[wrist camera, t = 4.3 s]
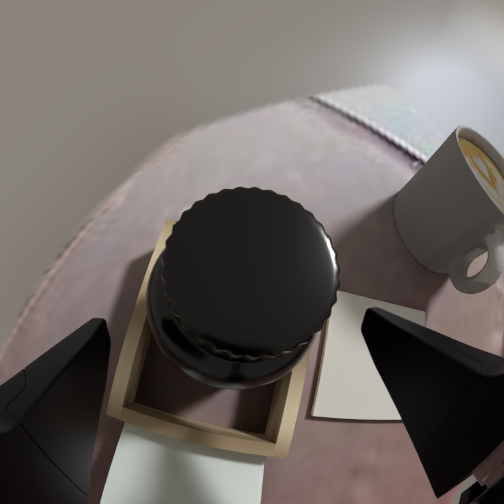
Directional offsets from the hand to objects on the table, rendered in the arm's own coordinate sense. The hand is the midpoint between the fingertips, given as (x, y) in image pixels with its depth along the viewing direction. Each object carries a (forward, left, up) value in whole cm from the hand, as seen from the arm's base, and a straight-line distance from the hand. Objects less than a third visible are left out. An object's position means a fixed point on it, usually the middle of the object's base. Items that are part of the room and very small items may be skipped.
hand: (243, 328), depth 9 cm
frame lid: (-9, 0, -9) cm, 13 cm away
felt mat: (+1, -11, -9) cm, 15 cm away
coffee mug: (+13, -17, -10) cm, 24 cm away
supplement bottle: (+1, 0, -10) cm, 10 cm away
